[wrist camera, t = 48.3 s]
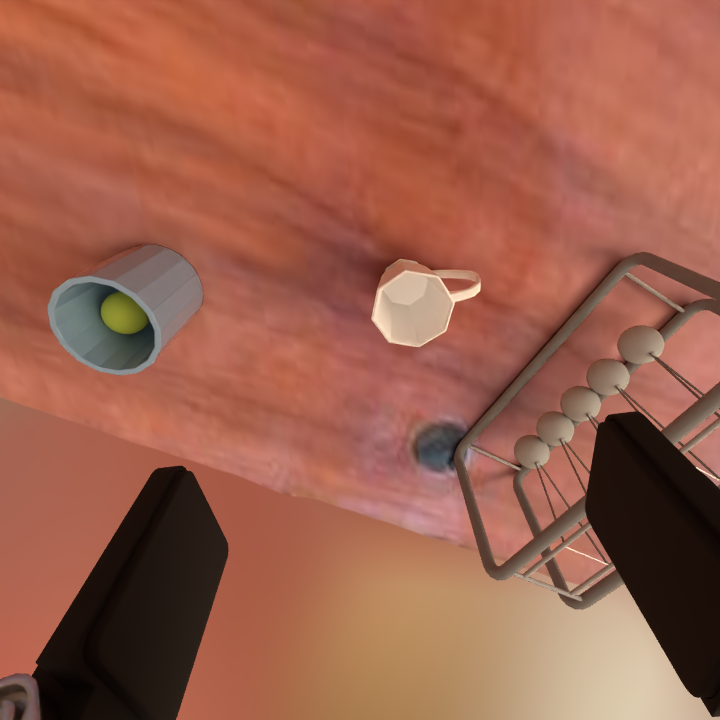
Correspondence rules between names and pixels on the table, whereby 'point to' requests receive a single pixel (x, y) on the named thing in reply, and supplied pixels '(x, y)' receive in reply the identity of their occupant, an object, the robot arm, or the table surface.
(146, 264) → the tumbler
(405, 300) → the cup
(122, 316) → the plum
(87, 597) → the robot arm
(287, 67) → the table surface
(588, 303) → the newton's cradle
